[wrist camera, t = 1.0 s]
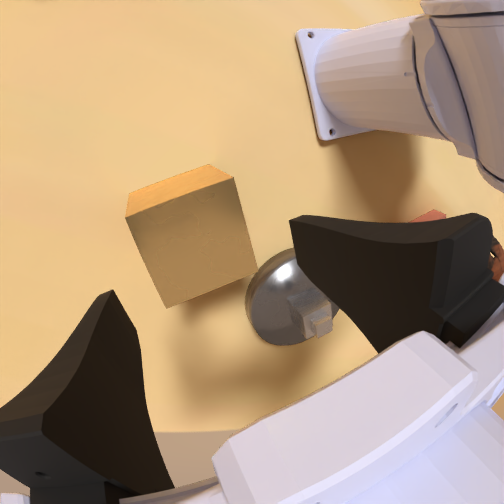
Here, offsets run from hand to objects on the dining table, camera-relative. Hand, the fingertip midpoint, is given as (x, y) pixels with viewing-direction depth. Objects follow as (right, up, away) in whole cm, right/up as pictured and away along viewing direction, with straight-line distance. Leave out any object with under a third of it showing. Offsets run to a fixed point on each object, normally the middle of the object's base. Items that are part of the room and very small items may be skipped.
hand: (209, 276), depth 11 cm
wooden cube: (-3, +3, +7) cm, 8 cm away
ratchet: (+11, 0, +14) cm, 18 cm away
